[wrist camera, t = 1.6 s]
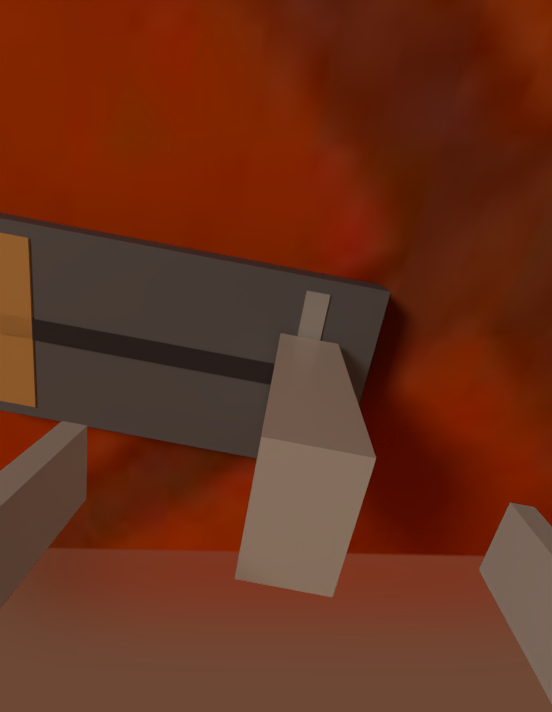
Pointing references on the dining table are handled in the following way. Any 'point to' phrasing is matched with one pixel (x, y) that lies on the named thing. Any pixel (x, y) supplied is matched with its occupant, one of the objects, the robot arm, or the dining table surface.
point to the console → (162, 333)
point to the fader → (306, 472)
